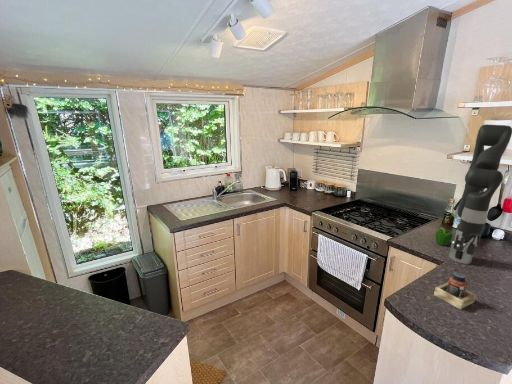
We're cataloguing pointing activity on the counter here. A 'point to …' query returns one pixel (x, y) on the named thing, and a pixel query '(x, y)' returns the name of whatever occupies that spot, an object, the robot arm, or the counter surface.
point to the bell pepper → (443, 237)
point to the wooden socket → (453, 300)
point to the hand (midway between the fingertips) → (463, 256)
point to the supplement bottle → (457, 285)
